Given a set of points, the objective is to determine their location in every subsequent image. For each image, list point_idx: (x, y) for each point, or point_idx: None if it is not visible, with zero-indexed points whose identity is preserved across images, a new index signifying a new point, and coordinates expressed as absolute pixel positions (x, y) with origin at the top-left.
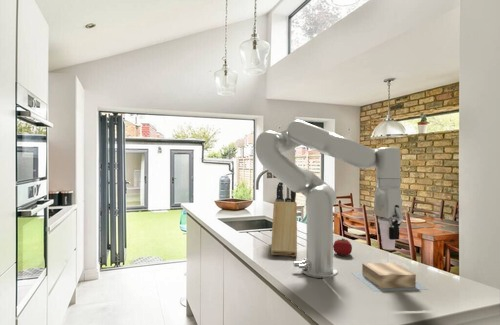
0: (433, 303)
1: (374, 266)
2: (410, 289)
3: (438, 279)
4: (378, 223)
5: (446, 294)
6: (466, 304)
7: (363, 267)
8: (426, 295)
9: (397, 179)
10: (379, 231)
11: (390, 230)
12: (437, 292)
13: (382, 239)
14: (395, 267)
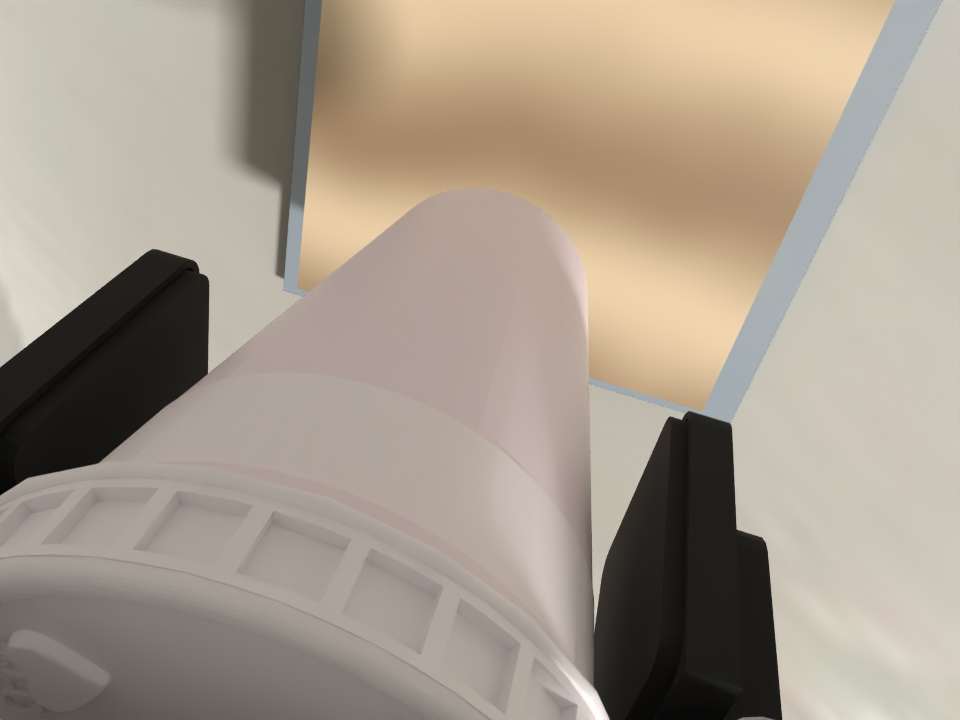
0: (66, 95)
1: (700, 39)
2: (301, 131)
3: None
4: (709, 670)
5: (217, 347)
6: (54, 310)
7: None
8: (215, 187)
9: None
10: (670, 466)
11: (7, 375)
12: (259, 323)
13: (447, 250)
14: None
